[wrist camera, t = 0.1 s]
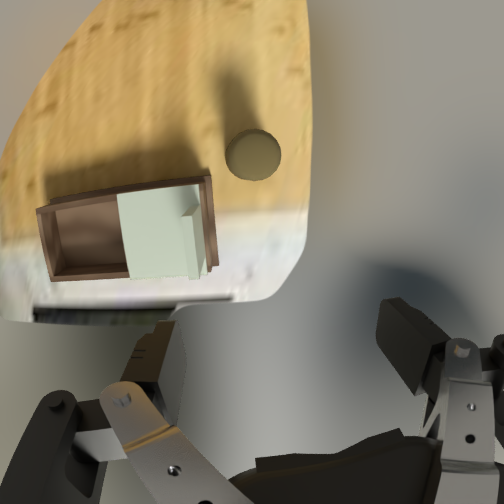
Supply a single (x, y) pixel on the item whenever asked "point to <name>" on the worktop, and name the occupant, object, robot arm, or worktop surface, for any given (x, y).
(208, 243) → the caddy
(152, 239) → the lid
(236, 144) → the olive rounded piece
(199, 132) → the worktop surface
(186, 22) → the worktop surface
